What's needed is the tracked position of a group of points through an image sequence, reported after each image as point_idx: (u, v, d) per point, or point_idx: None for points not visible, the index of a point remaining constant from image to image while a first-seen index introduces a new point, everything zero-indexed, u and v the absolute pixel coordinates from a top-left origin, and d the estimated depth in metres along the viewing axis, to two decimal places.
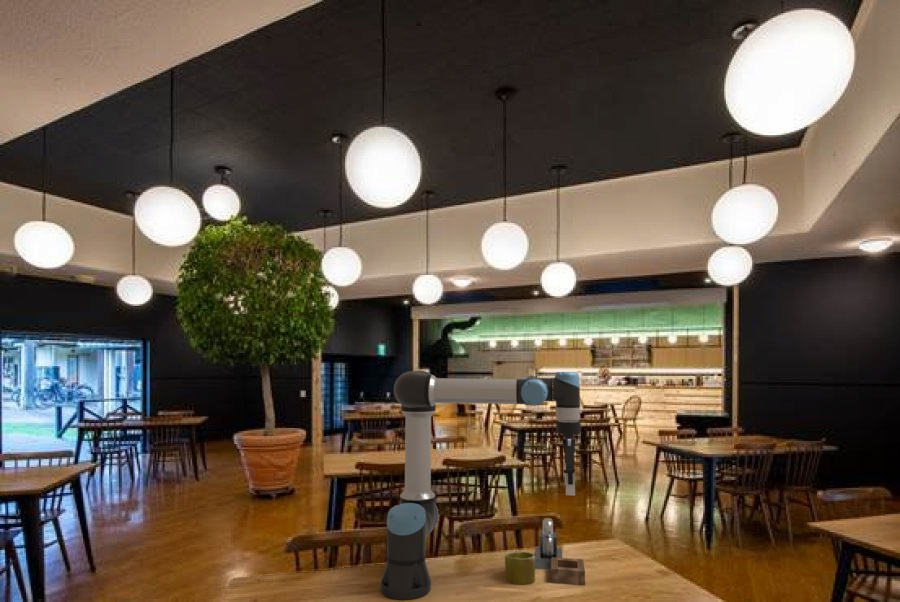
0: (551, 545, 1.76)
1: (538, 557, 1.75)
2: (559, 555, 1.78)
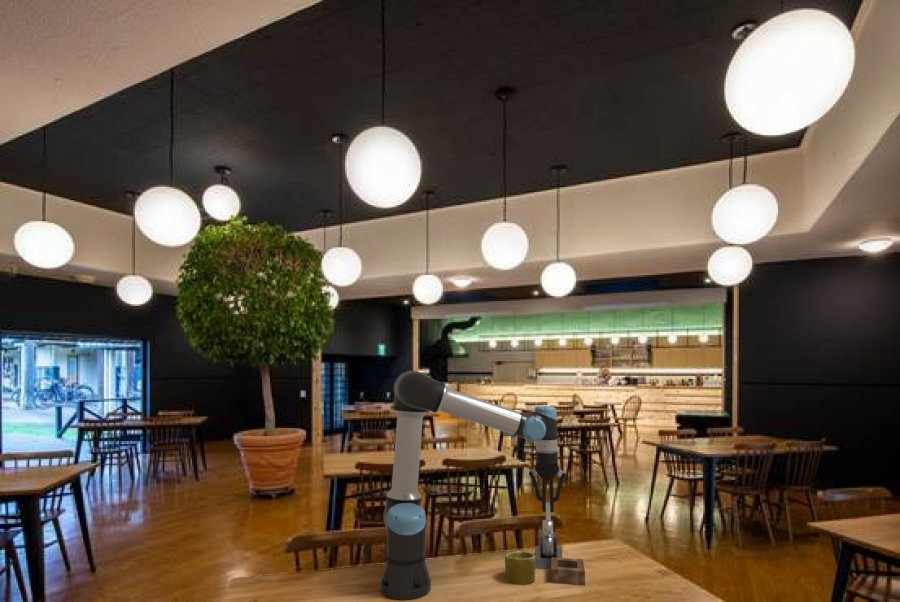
0: (551, 545, 1.76)
1: (538, 557, 1.75)
2: (559, 555, 1.78)
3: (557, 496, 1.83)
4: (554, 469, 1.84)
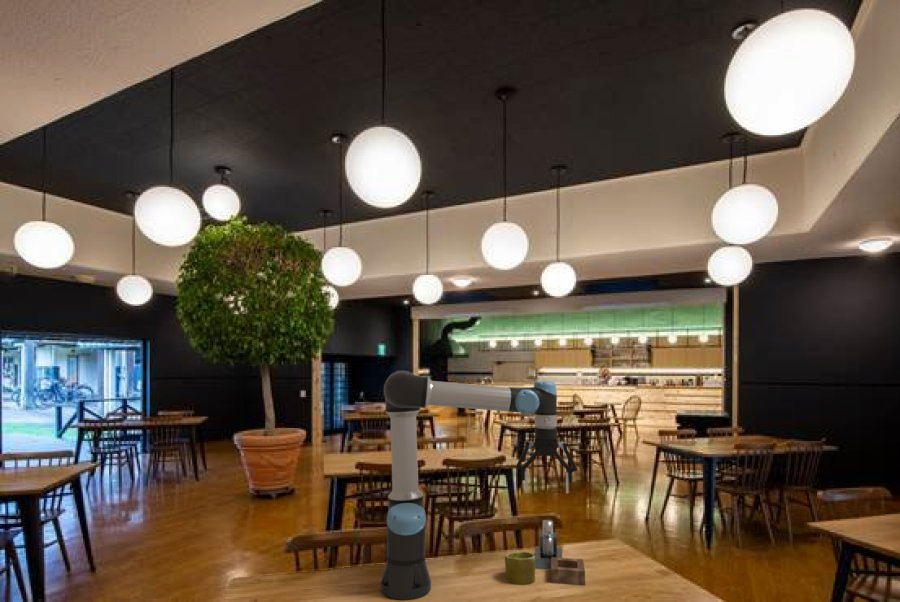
0: (551, 545, 1.76)
1: (538, 557, 1.75)
2: (559, 555, 1.78)
3: (573, 466, 1.78)
4: (554, 446, 1.80)
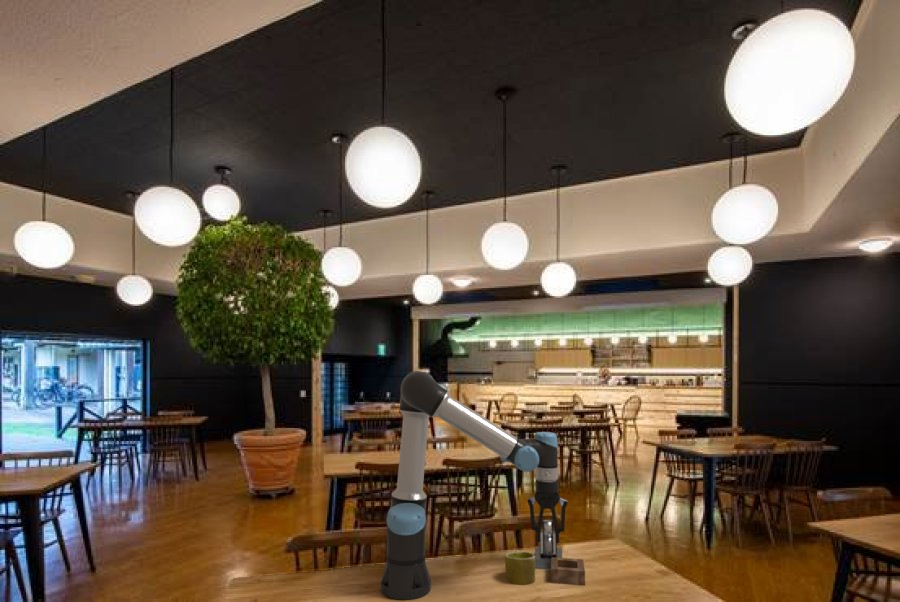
0: (551, 545, 1.76)
1: (538, 557, 1.75)
2: (559, 555, 1.78)
3: (562, 526, 1.76)
4: (555, 499, 1.77)
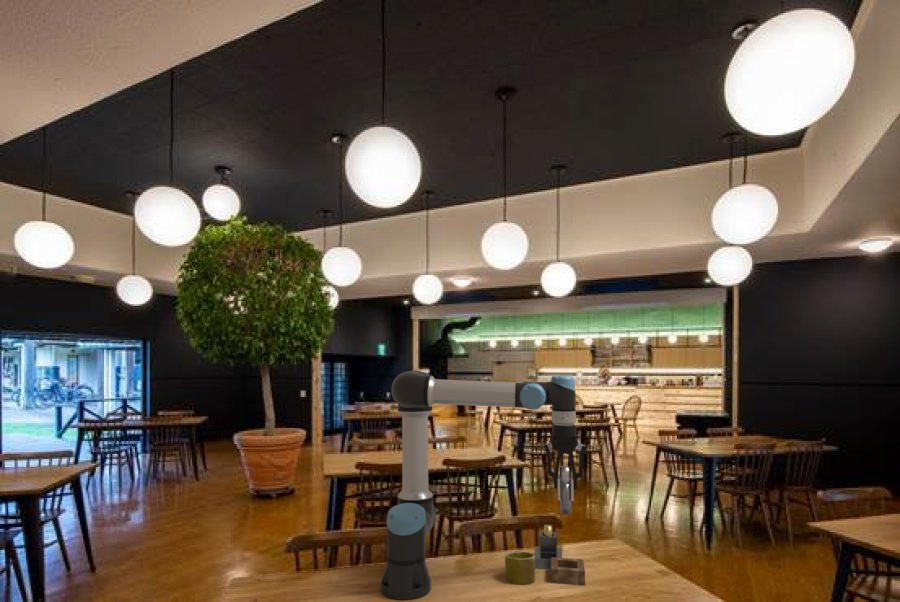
0: (569, 491, 1.69)
1: (538, 557, 1.75)
2: (559, 555, 1.78)
3: (580, 472, 1.69)
4: (572, 443, 1.70)
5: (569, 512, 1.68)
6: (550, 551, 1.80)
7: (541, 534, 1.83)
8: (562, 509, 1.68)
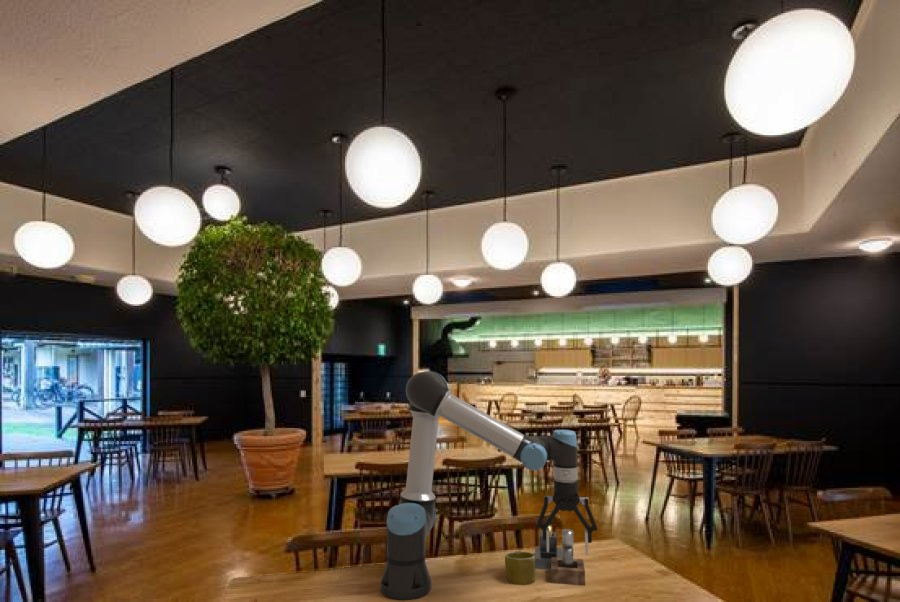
0: (571, 556, 1.66)
1: (538, 557, 1.75)
2: (559, 555, 1.78)
3: (594, 525, 1.66)
4: (574, 501, 1.68)
5: None
6: (550, 551, 1.80)
7: (541, 534, 1.83)
8: None
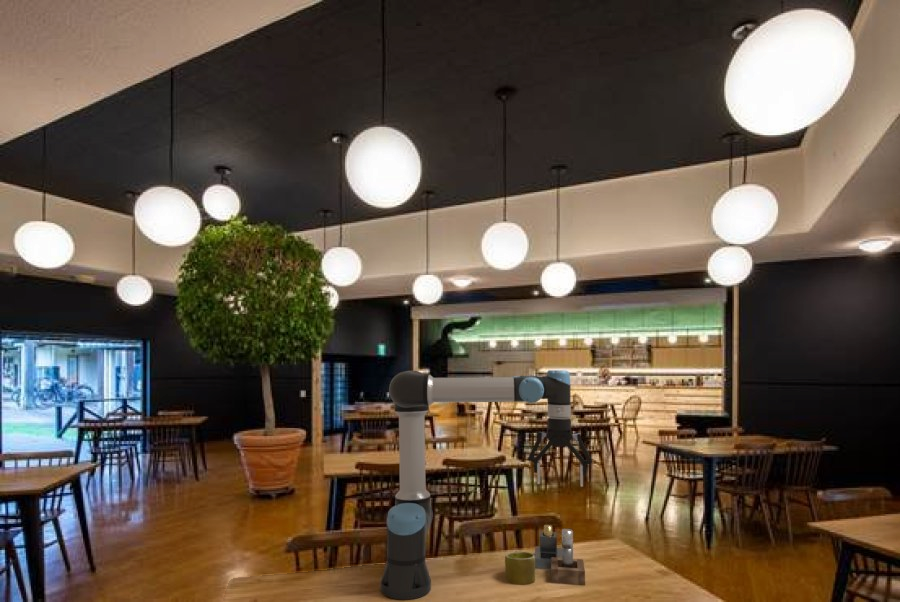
0: (571, 556, 1.66)
1: (538, 557, 1.75)
2: (559, 555, 1.78)
3: (588, 458, 1.71)
4: (567, 437, 1.73)
5: None
6: (550, 551, 1.80)
7: (541, 534, 1.83)
8: None
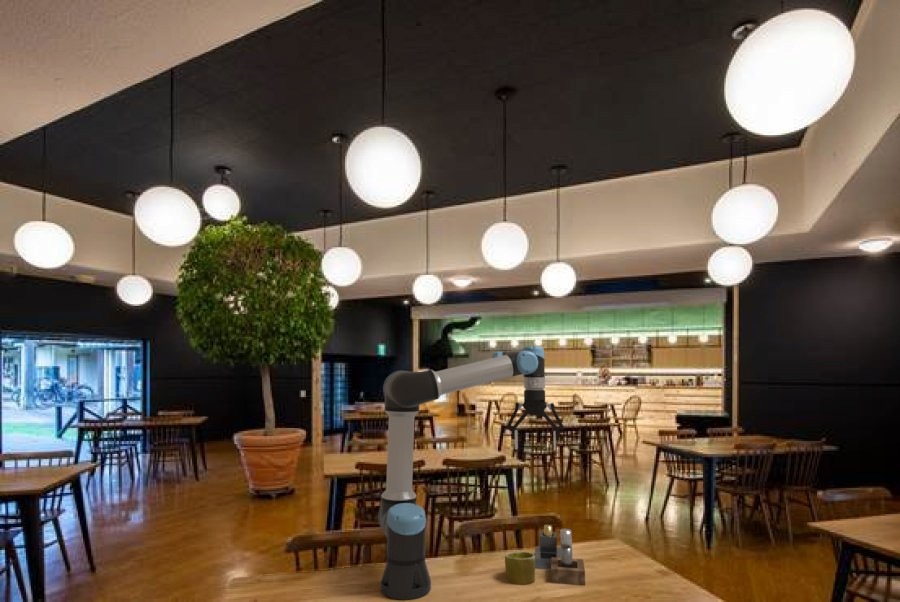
0: (570, 556, 1.66)
1: (538, 557, 1.75)
2: (559, 555, 1.78)
3: (560, 425, 1.89)
4: (542, 407, 1.91)
5: None
6: (550, 551, 1.80)
7: (541, 534, 1.83)
8: None
